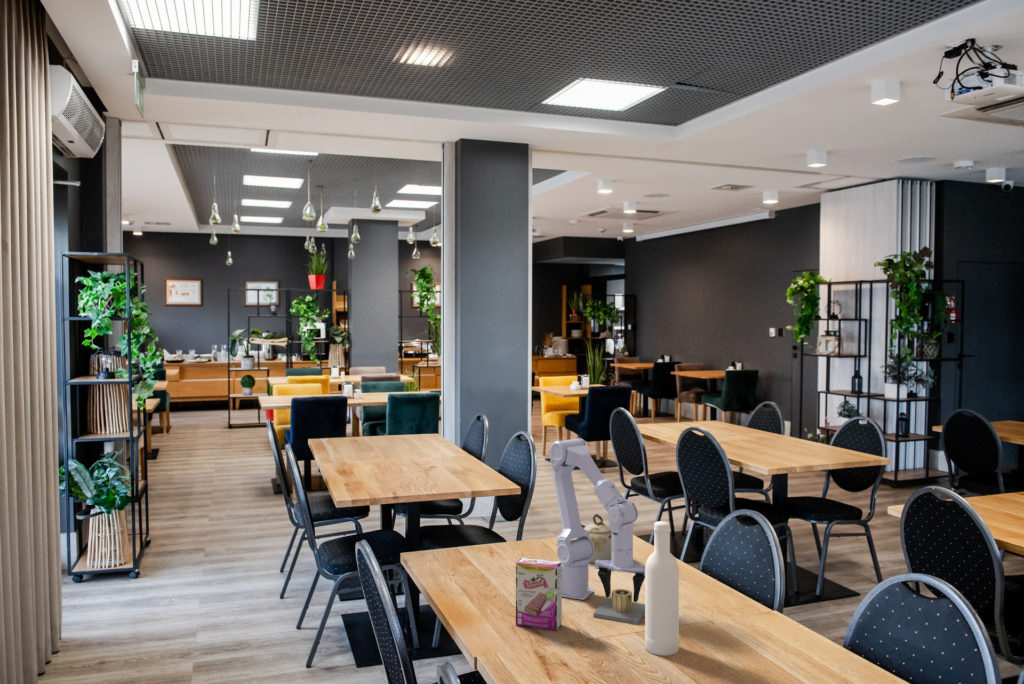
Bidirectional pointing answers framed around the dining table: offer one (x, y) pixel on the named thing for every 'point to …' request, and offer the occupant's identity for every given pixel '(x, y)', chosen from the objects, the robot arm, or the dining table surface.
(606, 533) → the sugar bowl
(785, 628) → the dining table surface
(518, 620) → the candy bar box
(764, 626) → the dining table surface
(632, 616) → the stand
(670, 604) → the bottle
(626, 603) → the collar
